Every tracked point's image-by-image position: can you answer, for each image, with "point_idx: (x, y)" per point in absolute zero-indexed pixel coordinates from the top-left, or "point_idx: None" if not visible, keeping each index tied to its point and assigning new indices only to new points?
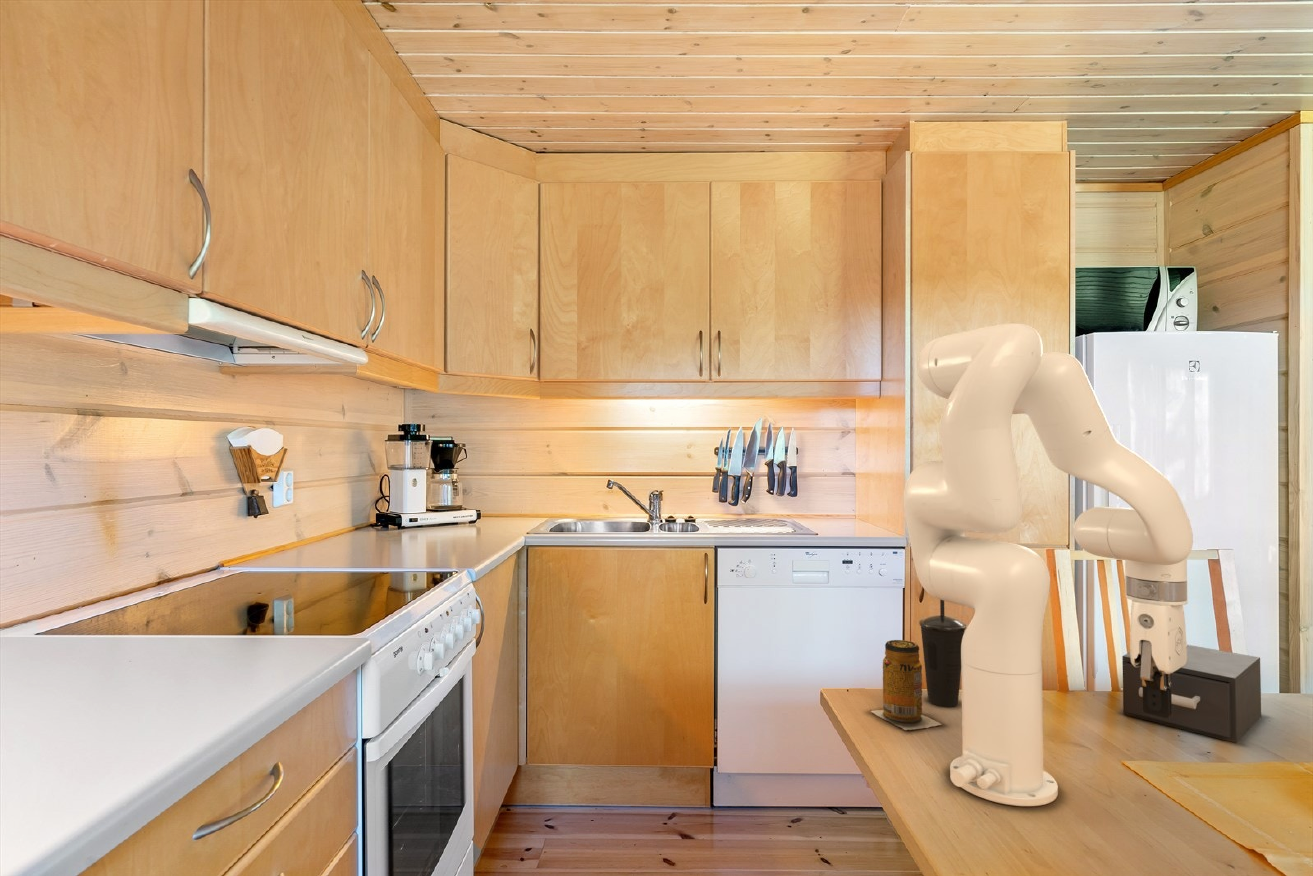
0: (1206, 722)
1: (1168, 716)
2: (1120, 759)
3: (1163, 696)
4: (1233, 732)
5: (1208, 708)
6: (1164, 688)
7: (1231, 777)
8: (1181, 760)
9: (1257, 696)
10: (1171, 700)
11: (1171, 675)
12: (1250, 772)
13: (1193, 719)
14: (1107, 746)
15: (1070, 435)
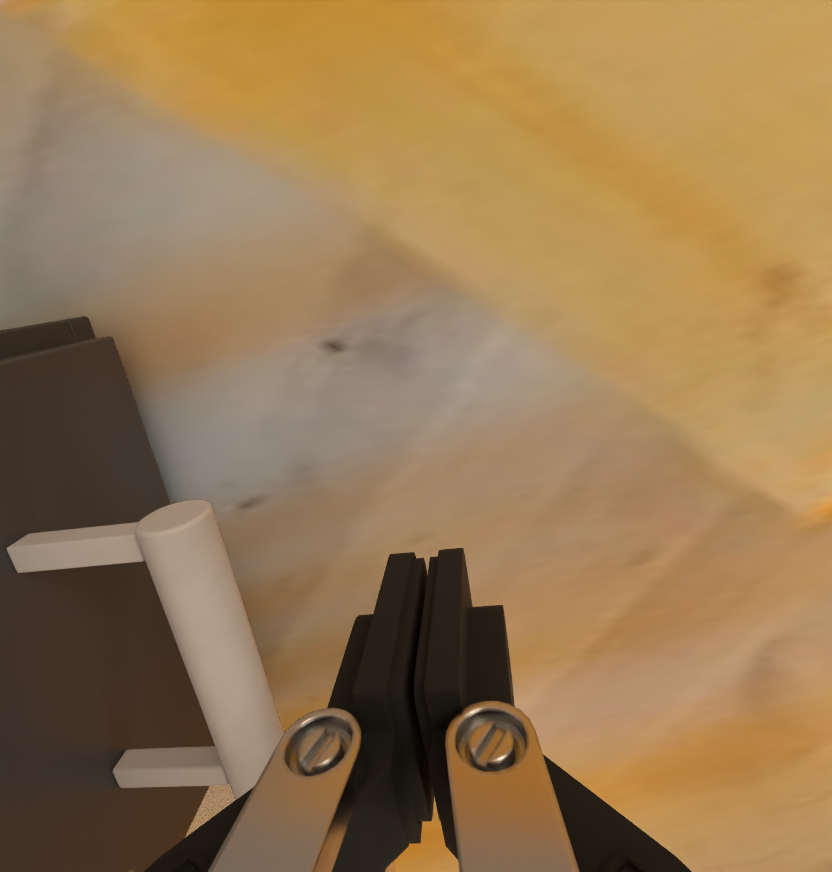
0: (112, 447)
1: (461, 549)
2: (802, 530)
3: (464, 671)
4: (52, 336)
5: (44, 471)
6: (490, 729)
7: (597, 131)
8: (568, 374)
9: None
10: (374, 617)
11: (236, 827)
12: (429, 103)
13: (134, 502)
14: (676, 616)
15: None
